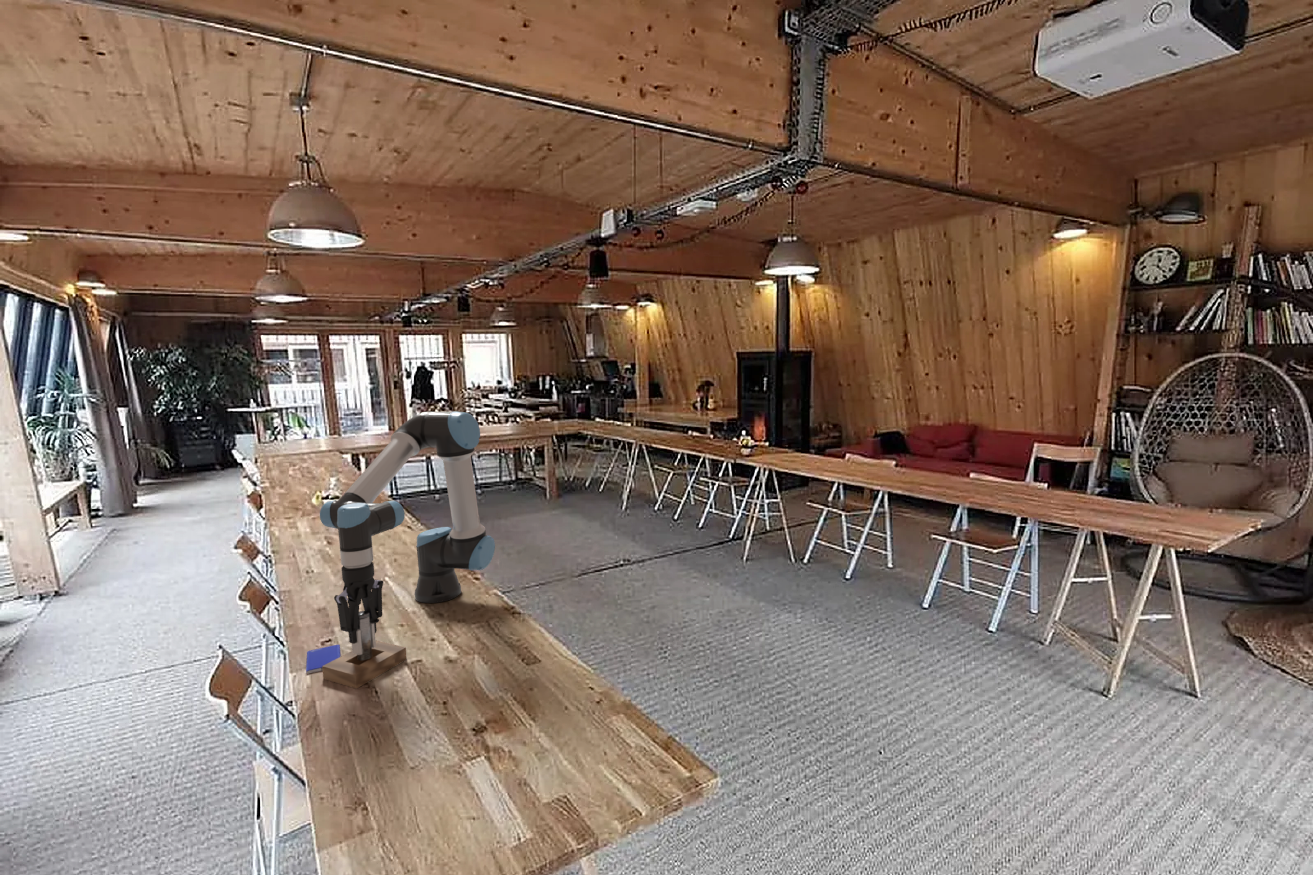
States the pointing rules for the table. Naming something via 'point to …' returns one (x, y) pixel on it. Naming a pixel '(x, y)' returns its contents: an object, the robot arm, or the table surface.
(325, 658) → the hard drive
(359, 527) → the robot arm
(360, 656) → the pin
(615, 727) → the table surface
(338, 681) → the slot block
